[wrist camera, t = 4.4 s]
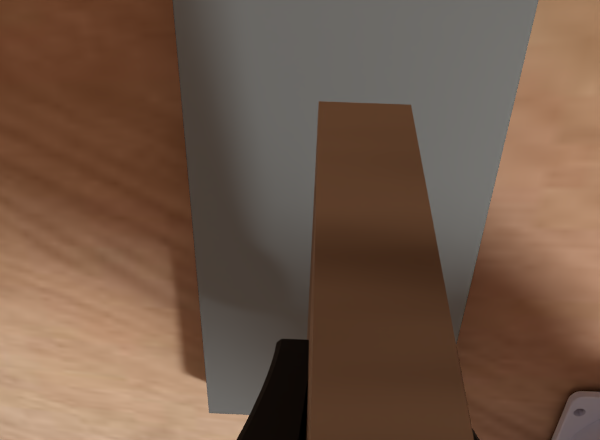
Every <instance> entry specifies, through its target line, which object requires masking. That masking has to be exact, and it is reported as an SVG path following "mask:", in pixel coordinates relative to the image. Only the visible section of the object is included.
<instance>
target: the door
mask: <svg viewBox="0 0 600 440" xmlns="http://www.w3.org/2000/svg"><path fill="white" fill-rule="evenodd" d="M307 340H309V357H308V389H307V409H306V429H305V440H474V438H473V432H472V427H471V422H470V416H469V411H468V406H467V400H466V395H465V390H464V384H463V379H462V374H461V368H460V363H459V358H458V352H457V347H456V342H455V336H454V331H453V326H452V320H451V315H450V310H449V304H448V299H447V294H446V288H445V283H444V278H443V272H442V267H441V262H440V256H439V251H438V246H437V240H436V235H435V230H434V224H433V219H432V214H431V208H430V203H429V198H428V192H427V187H426V182H425V176H424V171H423V166H422V160H421V155H420V150H419V144H418V139H417V134H416V128H415V123H414V118H413V112H412V107H411V105H406V104H379V103H352V102H325V101H319V105H318V125H317V145H316V166H315V186H314V206H313V227H312V247H311V268H310V288H309V308H308V329H307Z"/></svg>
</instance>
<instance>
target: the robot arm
mask: <svg viewBox="0 0 600 440" xmlns="http://www.w3.org/2000/svg"><path fill="white" fill-rule="evenodd" d="M308 357H309V340H304V339H280V340H279V341H278V342H276V347H275V352H274V355H273V359H272V362H271V365H270V368H269V371H268V374H267V376H266V379H265V381H264V384H263V386H262V389H261V391H260V393H259V396H258V398H257V400H256V402H255V404H254V406H253V409H252V411H251V413H250V415H249V417H248V419H247V421H246V423H245V425H244V427H243V429H242V431H241V433H240V434H239V436H238V438H237V440H305V429H306V409H307V389H308ZM472 432H473V438H474V440H479V438H478V437H477V435H476V434H475V432H474V430H473V429H472ZM552 440H600V392H592V391H578V392H575V393H573V394H572V395H571V396H570V397H569V398H568V401H567V403H566V406H565V408H564V410H563V413H562V415H561V418H560V420H559V423H558V425H557V427H556V430H555V432H554V435H553V437H552Z"/></svg>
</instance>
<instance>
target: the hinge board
mask: <svg viewBox="0 0 600 440" xmlns="http://www.w3.org/2000/svg"><path fill="white" fill-rule="evenodd" d="M537 4H538V0H173V10H174V22H175V33H176V44H177V55H178V67H179V78H180V89H181V101H182V112H183V123H184V134H185V146H186V157H187V168H188V180H189V191H190V202H191V213H192V225H193V236H194V247H195V258H196V270H197V281H198V292H199V304H200V315H201V326H202V337H203V349H204V360H205V371H206V383H207V394H208V405H209V413H220V414H243V415H250V413H251V411H252V409H253V406H254V404H255V402H256V400H257V398H258V396H259V393H260V391H261V389H262V386H263V384H264V381H265V379H266V376H267V374H268V371H269V368H270V365H271V362H272V359H273V355H274V352H275V347H276V342H278V341H279V340H280V339H304V340H307V329H308V308H309V288H310V268H311V247H312V227H313V206H314V186H315V166H316V145H317V125H318V105H319V101H325V102H352V103H379V104H406V105H411V107H412V112H413V118H414V123H415V128H416V134H417V139H418V144H419V150H420V155H421V160H422V166H423V171H424V176H425V182H426V187H427V192H428V198H429V203H430V208H431V214H432V219H433V224H434V230H435V235H436V240H437V246H438V251H439V256H440V262H441V267H442V272H443V278H444V283H445V288H446V294H447V299H448V304H449V310H450V315H451V320H452V326H453V331H454V336H455V342H456V344H457V340H458V335H459V331H460V327H461V323H462V319H463V314H464V310H465V306H466V302H467V298H468V293H469V289H470V285H471V281H472V277H473V273H474V268H475V264H476V260H477V256H478V252H479V247H480V243H481V239H482V235H483V231H484V226H485V222H486V218H487V214H488V210H489V205H490V201H491V197H492V193H493V189H494V184H495V180H496V176H497V172H498V168H499V163H500V159H501V155H502V151H503V147H504V142H505V138H506V134H507V130H508V126H509V122H510V117H511V113H512V109H513V105H514V101H515V96H516V92H517V88H518V84H519V80H520V75H521V71H522V67H523V63H524V59H525V54H526V50H527V46H528V42H529V38H530V33H531V29H532V25H533V21H534V17H535V12H536V8H537Z"/></svg>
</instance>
